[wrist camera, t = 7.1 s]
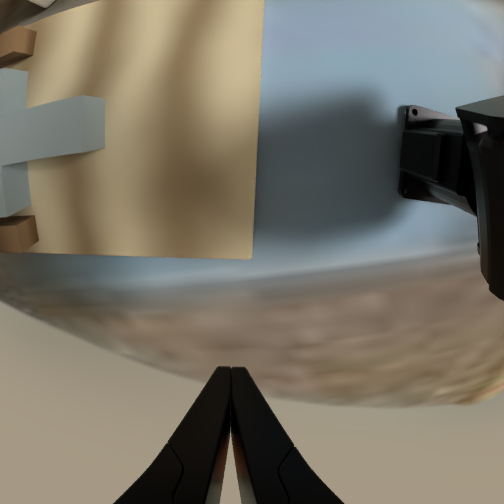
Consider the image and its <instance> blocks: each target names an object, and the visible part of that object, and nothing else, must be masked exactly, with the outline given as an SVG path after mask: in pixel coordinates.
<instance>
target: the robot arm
mask: <svg viewBox="0 0 504 504" xmlns="http://www.w3.org/2000/svg"><path fill="white" fill-rule="evenodd" d="M455 109H456V112H457V116H458V118H460V119H457V118H454V117H452V116H449V115H446V114H443V113H439V112H436V111H433V110H430V109H427V108H423V107H420V106H416V105H410V106H408V107H407V109H406V120H405V131H404V132H403V140H402V151H401V160H400V168H401V173H400V181H399V188H398V192H399V195H400V196H402V197H404V198H407V199H415V200H423V201H430V202H437V203H444V204H451V205H453V206H456V207H458V208H460V209H462V210H464V211H466V212H468V213H470V214H472V215H474V216H476V217H477V223H478V238H479V243H478V244H477V247H478V253H479V255H480V266H481V272H482V274H483V276H484V278H485V280H486V281H487V283H488V284H489V290H490V292H492V293H493V294H494V295H495V296H497V297H498V298H499V299H501V300H503V301H504V96H499V97H495V98H491V99H486V100H482V101H478V102H474V103H470V104H467V105H463V106H459V107H456V108H455ZM412 110H414V111H415V115H413V114H412ZM405 188H407V192H406V193H404V189H405ZM230 428H231V437H232V445H233V452H234V458H235V465H236V472H237V478H238V485H239V490H240V497H241V503H242V504H344V503H343V502H342V501H341V500H340V499H339V498H338V497H337V496H336V495H335V494H334V493H333V492H332V491H331V490H330V489H329V488H328V487H327V485H326V484H325V483H324V482H323V481H322V480H321V479H320V478H319V477H318V476H317V475H316V473H315V472H314V471H313V470H312V469H311V468H310V466H309V465H308V464H307V462H306V461H305V460H304V458H303V457H302V456H301V454H300V453H299V451H298V450H297V448H296V447H294V444H293V442H292V441H291V439H290V438H289V436H288V435H287V433H286V432H285V430H284V429H283V427H282V425H281V424H280V422H279V421H278V419H277V418H276V416H275V414H274V413H273V411H272V410H271V409H270V407H269V405H268V403H267V402H266V400H265V399H264V397H263V395H262V394H261V392H260V390H259V389H258V387H257V385H256V384H255V382H254V381H253V379H252V377H251V376H250V374H249V372H248V370H247V369H246V368H245V367H232V375H231V367H229V366H218V367H217V368H216V370H215V371H214V373H213V374H212V376H211V377H210V379H209V380H208V382H207V383H206V385H205V387H204V388H203V390H202V391H201V393H200V394H199V396H198V397H197V399H196V400H195V402H194V403H193V405H192V406H191V408H190V409H189V411H188V412H187V414H186V415H185V417H184V418H183V420H182V421H181V423H180V424H179V426H178V427H177V429H176V430H175V432H174V433H173V435H172V436H171V437H170V439H169V440H168V443H167V444H166V445H165V446H164V447H163V449H162V450H161V452H160V453H159V454H158V456H157V457H156V458H155V460H154V461H153V462H152V464H151V465H150V466H149V467H148V468H147V469H146V471H145V472H144V473H143V474H142V475H141V476H140V477H139V478H138V479H137V480H136V481H135V482H134V483H133V484H132V485H131V486H130V487H129V488H128V490H126V491H125V492H124V493H123V495H121V496H120V497H119V498H118V499H117V500H116V501H115V502H114V503H113V504H219V503H220V497H221V490H222V484H223V478H224V471H225V465H226V458H227V451H228V445H229V439H230Z"/></svg>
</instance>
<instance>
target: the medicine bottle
mask: <svg viewBox="0 0 504 504" xmlns="http://www.w3.org/2000/svg"><path fill="white" fill-rule="evenodd" d="M28 1H30V2H32V3H35V4H37V5H39V6H41V7H43V8H47V7H49V6H50V5H51V4H52V3H53V2H54V1H55V0H28Z"/></svg>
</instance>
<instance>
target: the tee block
mask: <svg viewBox="0 0 504 504" xmlns="http://www.w3.org/2000/svg"><path fill="white" fill-rule="evenodd" d="M27 81H28V71H21V70H14V69H6V68H2V69H0V218H1V217H8V216H10V215H12V214H14V213H16V212H18V211H20V210H22V209H24V208H26V207H28V206H30V205H31V198H30V189H29V179H28V168H27V161H29V160H35V159H41V158H47V157H54V156H60V155H67V154H75V153H83V152H88V151H92V150H97V149H102V148H105V99H104V98H98V97H92V96H85V95H81V96H76V97H71V98H67V99H62V100H58V101H54V102H50V103H46V104H42V105H39V106H35V107H31V108H28V109H26V97H27Z"/></svg>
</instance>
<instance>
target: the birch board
mask: <svg viewBox="0 0 504 504" xmlns="http://www.w3.org/2000/svg"><path fill="white" fill-rule="evenodd" d="M263 19H264V0H101V1H97V2H93V3H89V4H86V5H82V6H79V7H76V8H72V9H69V10H66V11H63V12H60V13H57V14H55V15H52V16H49V17H47V18H44V19H41V20H39V21H36V22H34V23H32V24H29V25H27V26H25V27H22V26H19V25H18V26H16V27H14V28H12V29H10V30H8V31H6V32H4V33H2V34H0V69H2V68H6V69H14V70H21V71H28V81H27V97H26V109H28V108H31V107H35V106H39V105H42V104H46V103H50V102H54V101H58V100H62V99H67V98H71V97H76V96H81V95H85V96H92V97H98V98H104V99H105V148H102V149H97V150H92V151H88V152H83V153H75V154H67V155H60V156H54V157H47V158H41V159H35V160H29V161H27V168H28V179H29V189H30V198H31V205H30V206H28V207H26V208H24V209H22V210H20V211H18V212H16V213H14V214H12V215H10V216H8V217H1V218H0V252H7V253H23V252H29V253H56V254H83V255H113V256H144V257H178V258H214V259H252V248H253V227H254V206H255V185H256V165H257V144H258V123H259V102H260V81H261V61H262V40H263Z"/></svg>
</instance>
